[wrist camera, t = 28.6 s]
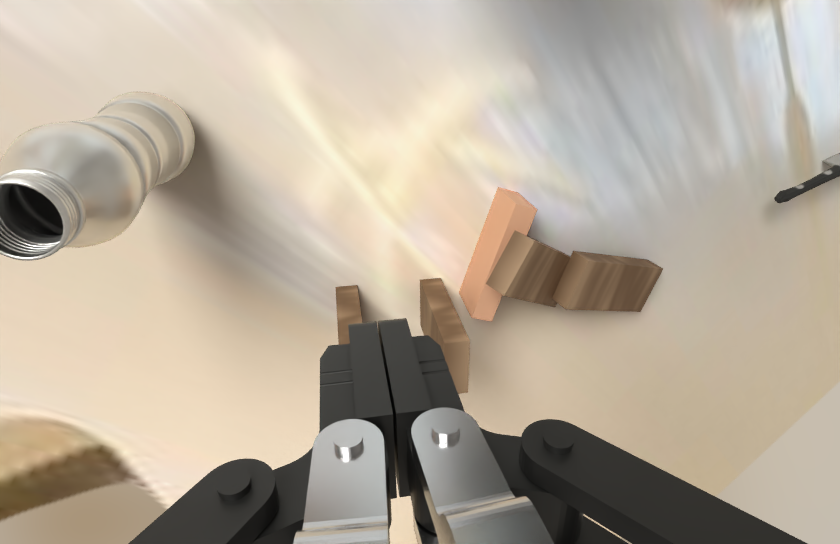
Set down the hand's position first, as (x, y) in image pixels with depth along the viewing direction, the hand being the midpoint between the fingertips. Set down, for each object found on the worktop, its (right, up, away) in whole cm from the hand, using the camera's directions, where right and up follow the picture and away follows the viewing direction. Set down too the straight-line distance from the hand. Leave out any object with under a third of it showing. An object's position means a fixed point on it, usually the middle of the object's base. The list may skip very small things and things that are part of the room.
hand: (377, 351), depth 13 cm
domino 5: (+24, +1, +39) cm, 46 cm away
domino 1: (-6, -1, +36) cm, 36 cm away
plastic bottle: (-19, +13, +26) cm, 35 cm away
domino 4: (+15, +1, +37) cm, 40 cm away
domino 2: (+2, -1, +37) cm, 37 cm away
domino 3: (+6, -1, +35) cm, 36 cm away
